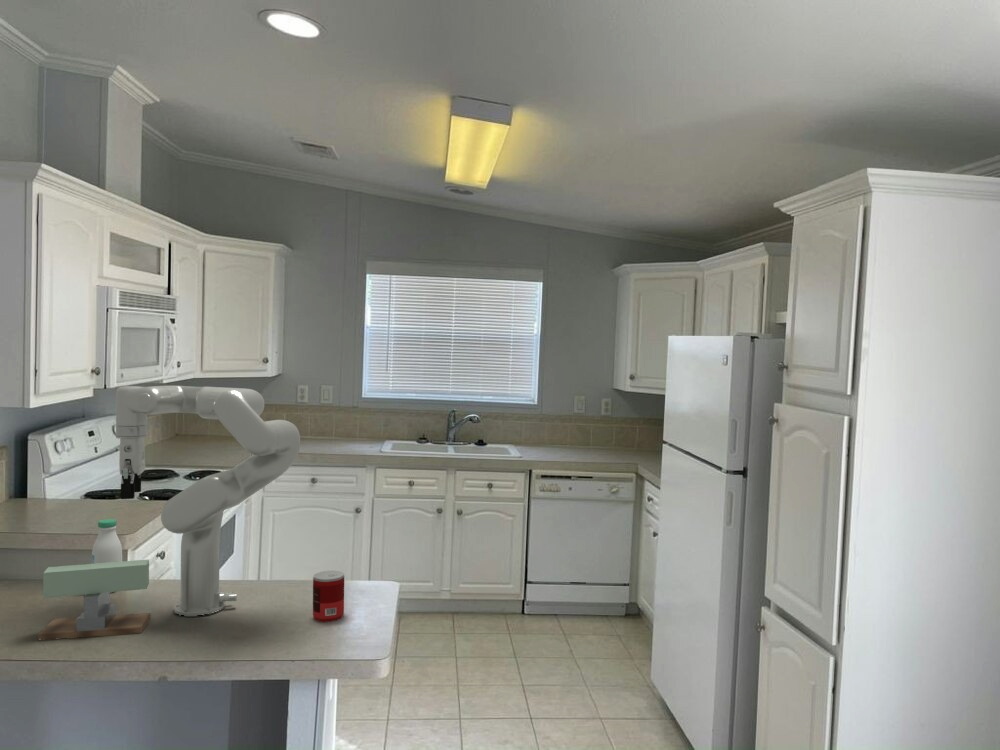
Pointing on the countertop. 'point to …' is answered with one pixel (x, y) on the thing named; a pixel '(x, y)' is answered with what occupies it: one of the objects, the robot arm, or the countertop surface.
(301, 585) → the countertop surface
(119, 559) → the milk bottle
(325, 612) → the canned food
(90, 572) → the beam
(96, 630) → the stand
